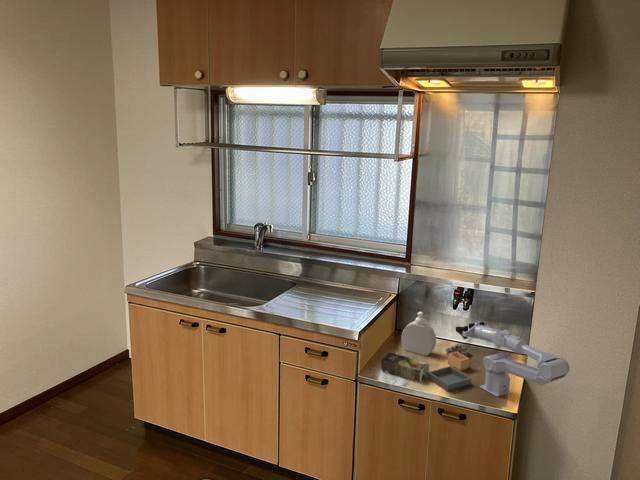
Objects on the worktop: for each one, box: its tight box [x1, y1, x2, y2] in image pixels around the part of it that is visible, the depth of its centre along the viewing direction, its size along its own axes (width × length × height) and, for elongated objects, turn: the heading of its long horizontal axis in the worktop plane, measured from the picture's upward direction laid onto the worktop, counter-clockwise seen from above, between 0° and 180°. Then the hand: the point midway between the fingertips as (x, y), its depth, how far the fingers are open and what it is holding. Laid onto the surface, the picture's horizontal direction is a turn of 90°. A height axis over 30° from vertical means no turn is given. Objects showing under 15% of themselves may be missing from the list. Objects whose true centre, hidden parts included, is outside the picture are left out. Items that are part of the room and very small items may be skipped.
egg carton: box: [445, 343, 470, 358], centre depth 264 cm, size 11×8×4 cm
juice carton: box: [380, 352, 430, 383], centre depth 245 cm, size 20×10×6 cm, turn 58°
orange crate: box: [447, 351, 470, 372], centre depth 252 cm, size 8×5×5 cm, turn 30°
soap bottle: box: [400, 311, 437, 357], centre depth 265 cm, size 16×5×20 cm, turn 58°
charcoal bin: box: [426, 365, 472, 393], centre depth 238 cm, size 13×13×3 cm
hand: (462, 327), depth 245 cm, fingers open, 7 cm apart
